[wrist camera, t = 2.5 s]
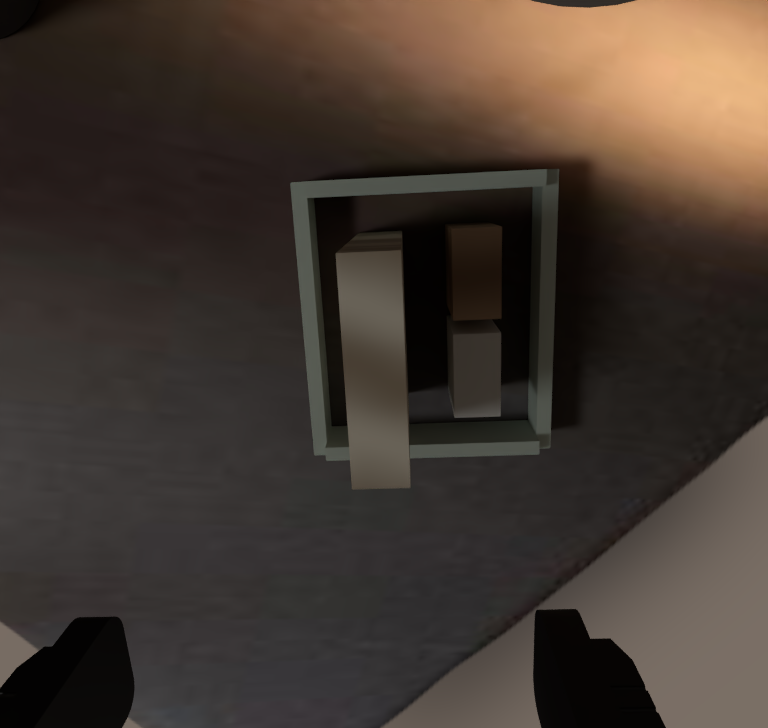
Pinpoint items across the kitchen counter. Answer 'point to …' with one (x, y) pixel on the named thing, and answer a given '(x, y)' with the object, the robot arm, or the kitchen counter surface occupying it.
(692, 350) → the kitchen counter surface
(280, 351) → the kitchen counter surface
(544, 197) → the bin
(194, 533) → the kitchen counter surface
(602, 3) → the desk lamp
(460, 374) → the grey offcut
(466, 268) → the walnut offcut
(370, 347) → the birch sheet
